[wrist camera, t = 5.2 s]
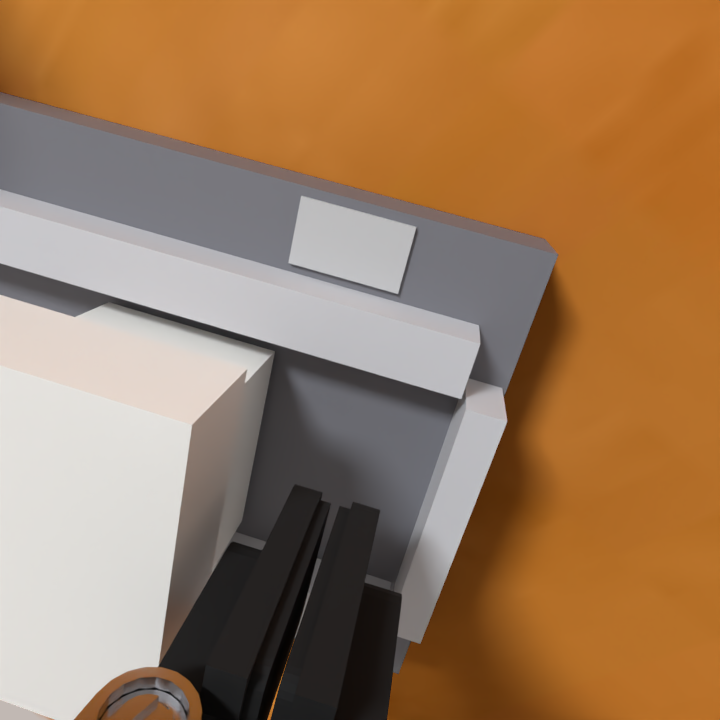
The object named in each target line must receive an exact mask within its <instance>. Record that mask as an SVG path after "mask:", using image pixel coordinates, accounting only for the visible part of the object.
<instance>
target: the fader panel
mask: <svg viewBox="0 0 720 720" xmlns="http://www.w3.org/2000/svg"><path fill="white" fill-rule="evenodd" d="M557 256H558V254H557V253H556V252H555V250H554V249H553V248H552V247H551V246H550V245H549V243H548V242H547V241H546V240H545V239H542V238H539V237H535V236H531V235H528V234H524V233H520V232H516V231H513V230H509V229H505V228H502V227H498V226H494V225H490V224H487V223H483V222H479V221H476V220H472V219H468V218H465V217H461V216H457V215H453V214H450V213H446V212H442V211H439V210H435V209H431V208H428V207H424V206H420V205H416V204H413V203H409V202H405V201H402V200H398V199H394V198H391V197H387V196H383V195H379V194H376V193H372V192H368V191H365V190H361V189H357V188H354V187H350V186H346V185H342V184H339V183H335V182H331V181H328V180H324V179H320V178H317V177H313V176H309V175H305V174H302V173H298V172H294V171H291V170H287V169H283V168H279V167H276V166H272V165H268V164H265V163H261V162H257V161H254V160H250V159H246V158H242V157H239V156H235V155H231V154H228V153H224V152H220V151H217V150H213V149H209V148H205V147H202V146H198V145H194V144H191V143H187V142H183V141H180V140H176V139H172V138H168V137H165V136H161V135H157V134H154V133H150V132H146V131H143V130H139V129H135V128H131V127H128V126H124V125H120V124H117V123H113V122H109V121H105V120H102V119H98V118H94V117H91V116H87V115H83V114H80V113H76V112H72V111H68V110H65V109H61V108H57V107H54V106H50V105H46V104H43V103H39V102H35V101H31V100H28V99H24V98H20V97H17V96H13V95H9V94H6V93H2V92H0V295H2V296H6V297H9V298H12V299H16V300H19V301H23V302H26V303H29V304H33V305H36V306H39V307H43V308H46V309H49V310H53V311H56V312H59V313H63V314H66V315H69V316H73V317H76V316H78V315H81V314H83V313H85V312H88V311H90V310H92V309H95V308H97V307H99V306H101V305H104V304H106V303H108V302H110V303H113V304H117V305H120V306H123V307H127V308H130V309H134V310H137V311H140V312H144V313H147V314H150V315H154V316H157V317H161V318H164V319H167V320H171V321H174V322H177V323H181V324H184V325H188V326H191V327H194V328H198V329H201V330H204V331H208V332H211V333H215V334H218V335H221V336H225V337H228V338H232V339H235V340H238V341H242V342H245V343H248V344H252V345H255V346H259V347H262V348H265V349H269V350H272V351H275V354H274V359H273V364H272V369H271V374H270V379H269V385H268V390H267V395H266V400H265V405H264V410H263V416H262V421H261V426H260V431H259V436H258V441H257V446H256V452H255V457H254V462H253V467H252V472H251V477H250V482H249V488H248V493H247V498H246V503H245V508H244V513H243V518H242V522H241V523H240V525H239V527H238V528H237V530H236V532H235V533H234V535H233V537H232V538H231V540H230V542H229V543H228V545H227V547H228V546H229V544H230V543H231V542H237V543H240V544H243V545H246V546H250V547H253V548H256V549H259V550H262V549H263V547H264V545H265V543H266V541H267V539H268V537H269V535H270V533H271V531H272V529H273V527H274V525H275V523H276V521H277V519H278V517H279V515H280V513H281V511H282V509H283V507H284V505H285V503H286V500H287V498H288V496H289V494H290V492H291V490H292V488H293V486H294V485H295V484H297V485H300V486H303V487H306V488H310V489H313V490H316V491H320V492H322V498H321V500H322V501H326V502H329V503H331V506H330V510H329V514H328V518H327V522H326V525H325V529H324V533H323V537H322V541H321V544H320V548H319V552H318V556H317V560H316V564H315V567H314V571H313V575H312V579H311V583H310V587H309V590H308V594H307V598H306V602H305V606H304V609H303V613H302V616H301V620H302V617H303V614H304V611H305V608H306V605H307V602H308V599H309V596H310V593H311V590H312V587H313V584H314V581H315V578H316V575H317V572H318V569H319V566H320V563H321V560H322V557H323V554H324V551H325V548H326V545H327V542H328V539H329V536H330V533H331V530H332V527H333V524H334V521H335V518H336V515H337V512H338V509H339V506H342V507H345V508H349V509H351V506H352V503H353V502H356V503H360V504H363V505H366V506H369V507H373V508H376V509H379V510H380V514H379V519H378V523H377V528H376V533H375V537H374V542H373V546H372V551H371V556H370V560H369V565H368V569H367V574H366V579H365V583H368V584H372V585H375V586H378V587H381V588H385V589H388V590H391V591H394V592H397V593H401V594H402V603H401V612H400V620H399V628H398V635H397V643H396V651H395V659H394V667H393V672H394V673H397V674H399V671H400V668H401V666H402V663H403V660H404V658H405V655H406V653H407V650H408V647H409V645H410V642H411V641H413V642H416V643H419V644H420V643H421V641H422V638H423V636H424V633H425V631H426V628H427V625H428V623H429V620H430V618H431V615H432V613H433V610H434V608H435V605H436V602H437V600H438V597H439V595H440V592H441V590H442V587H443V585H444V582H445V579H446V577H447V574H448V572H449V569H450V567H451V564H452V562H453V559H454V556H455V554H456V551H457V549H458V546H459V544H460V541H461V539H462V536H463V533H464V531H465V528H466V526H467V523H468V521H469V518H470V516H471V513H472V510H473V508H474V505H475V503H476V500H477V498H478V495H479V493H480V490H481V487H482V485H483V482H484V480H485V477H486V475H487V472H488V470H489V467H490V464H491V462H492V459H493V457H494V454H495V452H496V449H497V447H498V444H499V441H500V439H501V436H502V434H503V431H504V429H505V426H506V424H507V416H506V410H505V403H504V395H505V393H506V390H507V388H508V385H509V382H510V380H511V377H512V374H513V372H514V369H515V367H516V364H517V361H518V359H519V356H520V353H521V351H522V348H523V346H524V343H525V340H526V338H527V335H528V332H529V330H530V327H531V325H532V322H533V319H534V317H535V314H536V311H537V309H538V306H539V304H540V301H541V298H542V296H543V293H544V290H545V288H546V285H547V283H548V280H549V277H550V275H551V272H552V269H553V267H554V264H555V262H556V259H557ZM227 547H226V548H225V550H226V549H227ZM225 550H224V552H225ZM224 552H223V553H222V555H221V557H222V556H223V554H224ZM221 557H220V558H219V560H218V562H217V563H216V565H215V567H214V568H213V570H212V573H213V571H214V569H215V568H216V566H217V564H218V563H219V561H220V559H221ZM212 573H211V575H212ZM301 620H300V623H301ZM300 623H299V626H300ZM299 626H298V629H299ZM298 629H297V632H298ZM297 632H296V635H297ZM296 635H295V638H296ZM295 638H294V639H295Z"/></svg>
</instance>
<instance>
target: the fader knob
mask: <svg viewBox="0 0 720 720" xmlns="http://www.w3.org/2000/svg"><path fill="white" fill-rule="evenodd" d="M274 354H275V351H272V350H269V349H265V348H262V347H259V346H255V345H252V344H248V343H245V342H242V341H238V340H235V339H232V338H228V337H225V336H221V335H218V334H215V333H211V332H208V331H204V330H201V329H198V328H194V327H191V326H188V325H184V324H181V323H177V322H174V321H171V320H167V319H164V318H161V317H157V316H154V315H150V314H147V313H144V312H140V311H137V310H134V309H130V308H127V307H123V306H120V305H117V304H113V303H110V302H108V303H106V304H104V305H101V306H99V307H97V308H95V309H92V310H90V311H88V312H85V313H83V314H81V315H78V316H76V317H73V316H69V315H66V314H63V313H59V312H56V311H53V310H49V309H46V308H43V307H39V306H36V305H33V304H29V303H26V302H23V301H19V300H16V299H12V298H9V297H6V296H2V295H0V700H2V701H4V702H7V703H10V704H13V705H15V706H18V707H21V708H24V709H27V710H29V711H32V712H35V713H38V714H41V715H43V716H46V717H49V718H52V719H55V720H74V719H75V718H76V717H77V715H78V714H79V713H80V712H81V711H82V710H83V708H84V707H85V706H86V705H87V704H88V703H89V702H90V700H91V699H92V698H93V697H94V696H95V695H96V693H97V692H98V691H100V690H101V689H102V688H103V687H104V686H105V685H106V684H107V683H109V682H110V681H111V680H112V679H114V678H116V677H118V676H120V675H122V674H124V673H125V672H127V671H131V670H135V669H139V668H143V667H158V666H159V664H160V662H161V661H162V659H163V657H164V656H165V654H166V652H167V650H168V649H169V647H170V645H171V644H172V642H173V640H174V638H175V637H176V635H177V633H178V631H179V630H180V628H181V626H182V625H183V623H184V621H185V619H186V618H187V616H188V614H189V613H190V611H191V609H192V607H193V606H194V604H195V602H196V600H197V599H198V597H199V595H200V594H201V592H202V590H203V588H204V587H205V585H206V583H207V581H208V580H209V578H210V576H211V573H212V570H213V568H214V567H215V565H216V563H217V562H218V560H219V558H220V557H221V555H222V553H223V552H224V550H225V548H226V547H227V545H228V543H229V542H230V540H231V538H232V537H233V535H234V533H235V532H236V530H237V528H238V527H239V525H240V523H241V522H242V518H243V513H244V508H245V503H246V498H247V493H248V488H249V482H250V477H251V472H252V467H253V462H254V457H255V452H256V446H257V441H258V436H259V431H260V426H261V421H262V416H263V410H264V405H265V400H266V395H267V390H268V385H269V379H270V374H271V369H272V364H273V359H274Z"/></svg>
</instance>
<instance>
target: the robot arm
mask: <svg viewBox="0 0 720 720" xmlns="http://www.w3.org/2000/svg"><path fill="white" fill-rule="evenodd" d="M321 498H322V492H320V491H316V490H313V489H310V488H306V487H303V486H300V485H297V484H295V485H294V486H293V488H292V490H291V492H290V494H289V496H288V498H287V500H286V503H285V505H284V507H283V509H282V511H281V513H280V515H279V517H278V519H277V521H276V523H275V525H274V527H273V529H272V531H271V533H270V535H269V537H268V539H267V541H266V543H265V545H264V547H263V549H262V550H259V549H256V548H253V547H250V546H246V545H243V544H240V543H237V542H231V543H230V544H229V546H228V547H227V549H226V550H225V552H224V554H223V556H222V557H221V559H220V561H219V563H218V564H217V566H216V568H215V569H214V571H213V573H212V575H211V576H210V578H209V580H208V581H207V583H206V585H205V587H204V588H203V590H202V592H201V594H200V595H199V597H198V599H197V600H196V602H195V604H194V606H193V607H192V609H191V611H190V613H189V614H188V616H187V618H186V619H185V621H184V623H183V625H182V626H181V628H180V630H179V631H178V633H177V635H176V637H175V638H174V640H173V642H172V644H171V645H170V647H169V649H168V650H167V652H166V654H165V656H164V657H163V659H162V661H161V662H160V664H159V666H158V667H143V668H139V669H135V670H131V671H127V672H125V673H124V674H122V675H120V676H118V677H116V678H114V679H112V680H111V681H110V682H109V683H107V684H106V685H105V686H104V687H103V688H102V689H101V690H100V691H98V692H97V693H96V695H95V696H94V697H93V698H92V699H91V700H90V702H89V703H88V704H87V705H86V706H85V707H84V708H83V710H82V711H81V712H80V713H79V714H78V715H77V717H76V718H75V719H74V720H267V718H268V715H269V712H270V709H271V706H272V703H273V700H274V697H275V694H276V691H277V688H278V686H279V683H280V680H281V677H282V674H283V671H284V668H285V665H286V662H287V659H288V656H289V653H290V650H291V647H292V644H293V641H294V638H295V635H296V632H297V629H298V626H299V623H300V620H301V616H302V613H303V609H304V606H305V602H306V598H307V594H308V590H309V587H310V583H311V579H312V575H313V571H314V567H315V564H316V560H317V556H318V552H319V548H320V544H321V541H322V537H323V533H324V529H325V525H326V522H327V518H328V514H329V510H330V506H331V503H329V502H326V501H322V500H321ZM379 514H380V510H379V509H376V508H373V507H369V506H366V505H363V504H360V503H356V502H353V503H352V506H351V509H349V508H345V507H342V506H339V509H338V512H337V515H336V518H335V521H334V524H333V527H332V530H331V533H330V536H329V539H328V542H327V545H326V548H325V551H324V554H323V557H322V560H321V563H320V566H319V569H318V572H317V575H316V578H315V581H314V584H313V587H312V590H311V593H310V596H309V599H308V602H307V605H306V608H305V611H304V614H303V617H302V620H301V623H300V626H299V629H298V632H297V635H296V638H295V641H294V644H293V647H292V650H291V653H290V656H289V659H288V662H287V665H286V668H285V671H284V674H283V677H282V681H281V684H280V687H279V691H278V694H277V698H276V701H275V705H274V709H273V713H272V717H271V720H387V715H388V707H389V699H390V691H391V683H392V675H393V667H394V659H395V651H396V643H397V635H398V628H399V620H400V612H401V603H402V594H401V593H397V592H394V591H391V590H388V589H385V588H381V587H378V586H375V585H372V584H368V583H365V579H366V574H367V569H368V565H369V560H370V556H371V551H372V546H373V542H374V537H375V533H376V528H377V523H378V519H379Z"/></svg>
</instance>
